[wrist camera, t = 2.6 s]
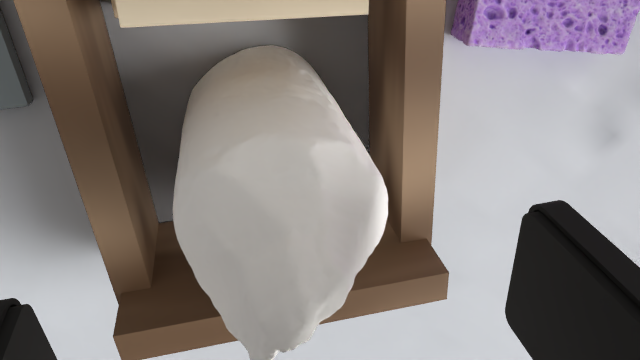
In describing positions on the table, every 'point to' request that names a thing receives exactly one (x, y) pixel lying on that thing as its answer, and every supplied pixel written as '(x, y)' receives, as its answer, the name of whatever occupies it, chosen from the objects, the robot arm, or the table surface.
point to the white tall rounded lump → (274, 198)
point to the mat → (11, 74)
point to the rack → (160, 238)
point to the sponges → (547, 24)
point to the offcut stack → (228, 10)
